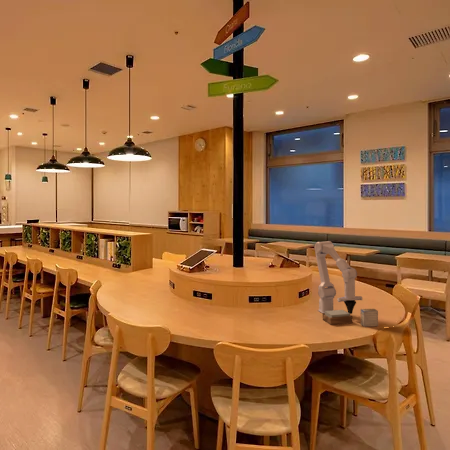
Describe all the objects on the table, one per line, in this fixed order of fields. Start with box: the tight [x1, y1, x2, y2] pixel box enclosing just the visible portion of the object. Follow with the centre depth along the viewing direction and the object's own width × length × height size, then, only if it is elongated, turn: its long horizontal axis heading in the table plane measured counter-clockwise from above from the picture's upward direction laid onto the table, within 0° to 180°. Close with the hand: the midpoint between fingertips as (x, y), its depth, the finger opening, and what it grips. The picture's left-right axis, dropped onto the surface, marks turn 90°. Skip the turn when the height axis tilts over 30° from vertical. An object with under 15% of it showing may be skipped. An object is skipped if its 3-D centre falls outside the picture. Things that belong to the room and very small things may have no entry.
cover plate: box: [325, 309, 351, 318], centre depth 203 cm, size 8×11×2 cm
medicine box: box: [360, 308, 379, 328], centre depth 195 cm, size 8×4×9 cm, turn 92°
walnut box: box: [322, 313, 353, 326], centre depth 203 cm, size 10×13×4 cm
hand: (350, 313), depth 204 cm, fingers closed
